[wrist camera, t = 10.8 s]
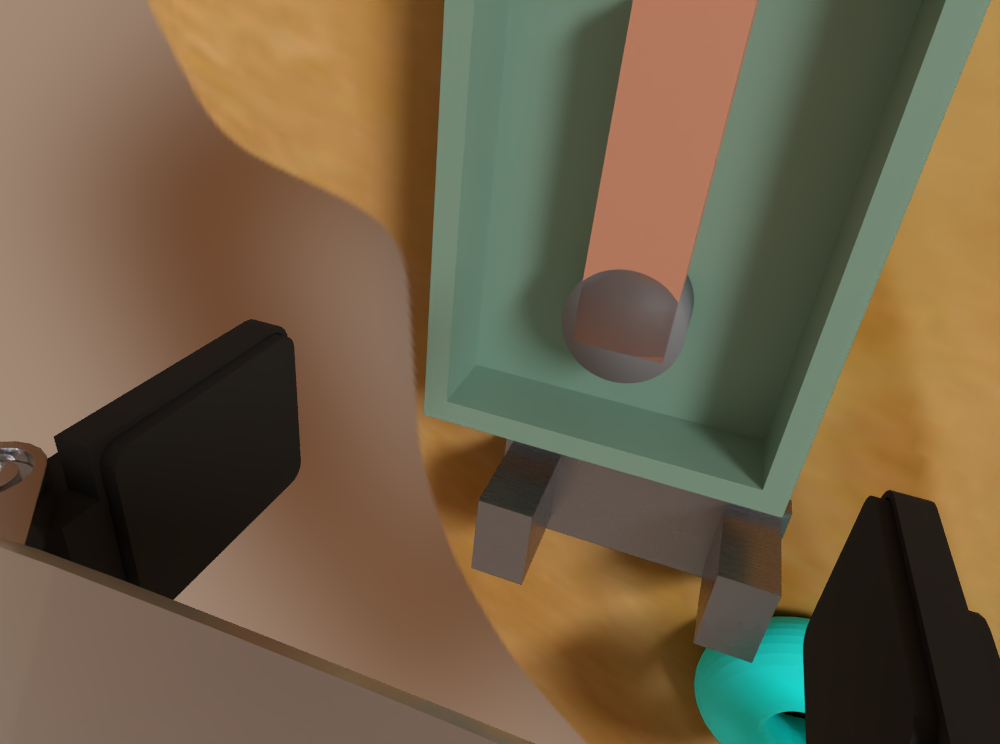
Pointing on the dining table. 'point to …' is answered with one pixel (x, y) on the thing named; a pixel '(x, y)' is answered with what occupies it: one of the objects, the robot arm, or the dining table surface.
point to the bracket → (638, 536)
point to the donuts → (756, 689)
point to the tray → (720, 242)
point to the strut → (656, 185)
